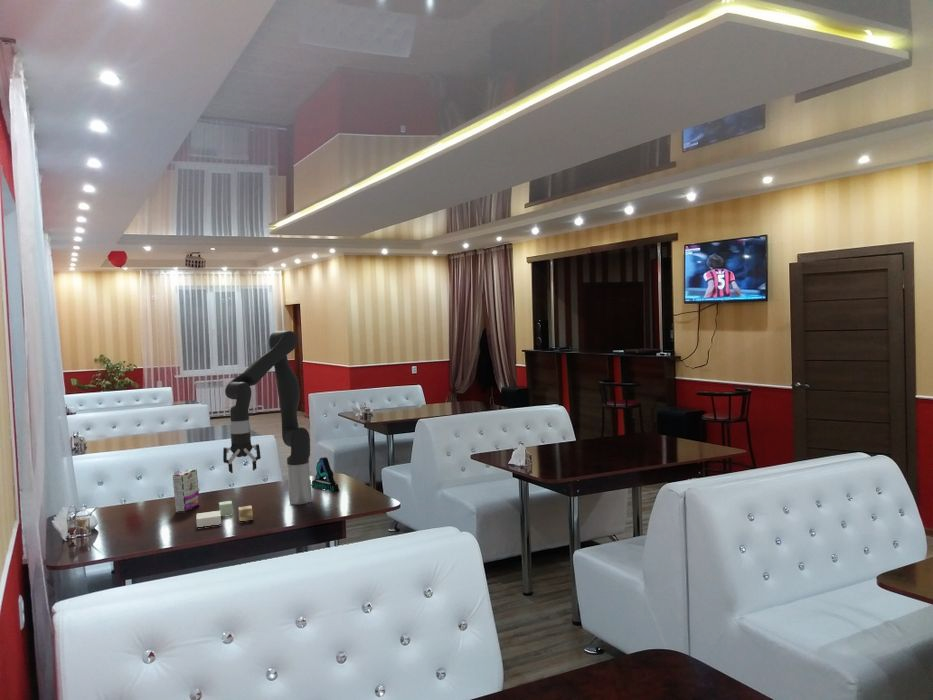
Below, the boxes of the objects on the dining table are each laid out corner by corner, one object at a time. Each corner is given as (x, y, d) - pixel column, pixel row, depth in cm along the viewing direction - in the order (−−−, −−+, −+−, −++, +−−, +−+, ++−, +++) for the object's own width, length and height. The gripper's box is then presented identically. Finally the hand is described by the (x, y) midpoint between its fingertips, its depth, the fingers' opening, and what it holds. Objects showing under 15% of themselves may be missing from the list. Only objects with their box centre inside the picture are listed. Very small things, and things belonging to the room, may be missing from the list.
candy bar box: (190, 505, 313) (187, 468, 312) (200, 505, 312) (197, 468, 311) (174, 512, 302) (172, 474, 301) (185, 512, 301) (182, 474, 300)
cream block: (220, 520, 287) (220, 510, 287) (221, 525, 279) (220, 515, 279) (197, 523, 284) (196, 513, 284) (197, 529, 276) (196, 519, 276)
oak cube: (252, 517, 288) (251, 505, 288) (253, 520, 283) (252, 508, 283) (239, 519, 286) (238, 507, 286) (240, 522, 282) (239, 510, 281)
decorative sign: (339, 491, 325) (337, 459, 324) (335, 492, 323) (333, 460, 322) (315, 486, 338) (313, 455, 337) (311, 487, 336) (309, 456, 335)
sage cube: (232, 512, 298) (231, 500, 297) (232, 515, 293) (232, 503, 293) (219, 514, 296) (218, 502, 296) (220, 517, 291) (219, 505, 291)
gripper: (258, 428, 289) (260, 467, 290) (221, 432, 284) (223, 471, 285) (259, 431, 282) (262, 471, 283) (222, 434, 277) (224, 475, 278)
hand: (242, 471), depth 284 cm, fingers open, 8 cm apart
